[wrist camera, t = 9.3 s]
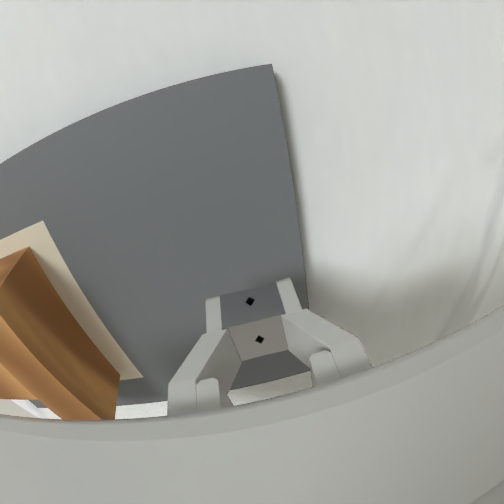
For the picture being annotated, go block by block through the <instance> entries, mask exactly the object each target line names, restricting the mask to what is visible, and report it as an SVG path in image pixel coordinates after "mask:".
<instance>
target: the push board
mask: <svg viewBox="0 0 504 504" xmlns="http://www.w3.org/2000/svg"><path fill="white" fill-rule="evenodd" d="M26 247H30V249H31V251H32V252H33V254H34V256H35V258H36V259H37V261H38V263H39V265H40V266H41V268H42V270H43V271H44V273H45V274H46V276H47V278H48V279H49V281H50V282H51V284H52V286H53V287H54V289H55V290H56V292H57V293H58V295H59V296H60V298H61V299H62V301H63V302H64V304H65V305H66V307H67V308H68V309H69V311H70V312H71V314H72V315H73V316H74V318H75V319H76V321H77V322H78V323H79V325H80V326H81V327H82V329H83V330H84V331H85V333H86V334H87V335H88V336H89V338H90V339H91V340H92V342H93V343H94V344H95V345H96V347H97V348H98V349H99V350H100V352H101V353H102V354H103V355H104V356H105V358H106V359H107V360H108V361H109V362H110V363H111V365H112V366H113V367H114V368H115V369H116V370H117V372H118V373H119V374H120V381H119V388H118V395H117V403H116V406H121V405H133V404H143V403H152V402H161V401H168V384H169V382H170V381H171V379H172V378H173V377H174V375H175V374H176V372H177V371H178V369H179V368H180V366H181V365H182V363H183V362H184V361H185V359H186V358H187V356H188V355H189V353H190V352H191V350H192V349H193V347H194V346H195V345H196V343H197V342H198V340H199V339H200V337H201V336H202V334H206V333H207V332H206V303H205V302H206V299H208V298H212V297H217V296H220V295H224V294H229V293H233V292H238V291H242V290H247V289H251V288H254V287H258V286H262V285H266V284H269V283H273V282H276V281H279V280H283V279H286V278H290V279H291V281H292V284H293V286H294V289H295V291H296V294H297V297H298V299H299V302H300V305H301V307H302V310H303V309H306V308H307V309H308V310H309V306H308V297H307V287H306V278H305V269H304V261H303V252H302V244H301V236H300V229H299V221H298V214H297V207H296V200H295V193H294V186H293V179H292V173H291V166H290V160H289V154H288V148H287V142H286V136H285V130H284V125H283V119H282V114H281V108H280V103H279V97H278V92H277V87H276V82H275V77H274V72H273V67H272V64H267V65H261V66H255V67H249V68H244V69H239V70H234V71H229V72H224V73H220V74H215V75H211V76H207V77H203V78H199V79H195V80H191V81H187V82H184V83H180V84H177V85H173V86H170V87H167V88H163V89H160V90H157V91H154V92H151V93H148V94H145V95H142V96H139V97H136V98H134V99H131V100H128V101H125V102H123V103H120V104H118V105H115V106H112V107H110V108H108V109H105V110H103V111H100V112H98V113H96V114H93V115H91V116H89V117H86V118H84V119H82V120H80V121H78V122H75V123H73V124H71V125H69V126H67V127H65V128H63V129H61V130H59V131H57V132H55V133H53V134H51V135H49V136H47V137H45V138H44V139H42V140H40V141H38V142H36V143H34V144H33V145H31V146H29V147H27V148H26V149H24V150H22V151H21V152H19V153H17V154H16V155H14V156H12V157H11V158H9V159H7V160H6V161H4V162H3V163H1V164H0V259H1V258H3V257H6V256H8V255H10V254H12V253H15V252H17V251H19V250H22V249H24V248H26ZM241 362H242V363H241V365H240V368H239V370H238V372H237V374H236V377H235V379H234V381H233V383H232V385H231V388H230V390H234V389H238V388H243V387H248V386H252V385H256V384H261V383H265V382H269V381H273V380H277V379H281V378H285V377H289V376H292V375H296V374H300V373H303V372H307V371H310V370H311V369H310V368H309V367H308V366H307V365H305V364H304V363H303V362H302V361H301V360H299V359H298V358H297V357H296V356H295V355H293V354H292V353H291V352H290V351H289V350H285V351H281V352H276V353H272V354H267V355H263V356H259V357H256V358H252V359H248V360H244V361H241ZM29 401H30V402H32V403H33V404H34V405H35V406H36V407H37V408H48V407H46V406H45V405H44V404H43V403H42V402H41V401H39V400H29Z"/></svg>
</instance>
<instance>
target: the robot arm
mask: <svg viewBox="0 0 504 504" xmlns="http://www.w3.org/2000/svg"><path fill="white" fill-rule="evenodd" d="M205 303H206V332H207V333H206V334H202V336H201V337H200V339H199V340H198V342H197V343H196V345H195V346H194V347H193V349H192V350H191V352H190V353H189V355H188V356H187V358H186V359H185V361H184V362H183V363H182V365H181V366H180V368H179V369H178V371H177V372H176V374H175V375H174V377H173V378H172V379H171V381H170V382H169V384H168V410H167V416H160V417H149V418H136V419H116V420H60V419H41V418H28V417H19V416H10V415H3V414H0V504H504V306H502V307H500V308H499V309H497V310H495V311H493V312H492V313H490V314H488V315H486V316H485V317H483V318H481V319H479V320H477V321H476V322H474V323H472V324H470V325H468V326H466V327H464V328H462V329H460V330H458V331H456V332H454V333H452V334H450V335H448V336H446V337H444V338H442V339H440V340H438V341H436V342H434V343H432V344H429V345H427V346H425V347H423V348H420V349H418V350H416V351H414V352H411V353H409V354H406V355H404V356H402V357H399V358H397V359H394V360H392V361H389V362H387V363H384V364H381V365H379V366H376V367H372V365H371V363H370V361H369V359H368V357H367V354H366V352H365V350H364V348H363V346H362V344H361V342H360V340H359V338H357V337H355V336H353V335H352V334H350V333H348V332H346V331H345V330H343V329H341V328H339V327H338V326H336V325H334V324H332V323H331V322H329V321H327V320H325V319H324V318H322V317H320V316H319V315H317V314H315V313H313V312H312V311H310V310H308V309H307V308H306V309H303V310H302V307H301V305H300V302H299V299H298V297H297V294H296V291H295V289H294V286H293V284H292V281H291V279H290V278H286V279H283V280H279V281H276V282H273V283H269V284H266V285H262V286H258V287H254V288H251V289H247V290H242V291H238V292H233V293H229V294H224V295H220V296H217V297H212V298H208V299H206V302H205ZM285 350H289V351H290V352H291V353H292V354H293V355H295V356H296V357H297V358H298V359H299V360H301V361H302V362H303V363H304V364H305V365H307V366H308V367H309V368H310V369H311V378H312V388H309V389H305V390H302V391H298V392H294V393H290V394H286V395H283V396H278V397H274V398H270V399H266V400H261V401H256V402H252V403H247V404H242V405H237V406H234V405H233V404H232V402H231V400H230V399H229V397H228V396H227V394H228V392H229V390H230V388H231V385H232V383H233V381H234V379H235V377H236V374H237V372H238V370H239V368H240V365H241V363H242V362H241V361H244V360H248V359H252V358H256V357H259V356H263V355H267V354H272V353H276V352H281V351H285Z"/></svg>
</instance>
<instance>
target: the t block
mask: <svg viewBox="0 0 504 504" xmlns="http://www.w3.org/2000/svg"><path fill="white" fill-rule="evenodd" d="M119 381H120V374H119V373H118V372H117V370H116V369H115V368H114V367H113V366H112V365H111V363H110V362H109V361H108V360H107V359H106V358H105V356H104V355H103V354H102V353H101V352H100V350H99V349H98V348H97V347H96V345H95V344H94V343H93V342H92V340H91V339H90V338H89V336H88V335H87V334H86V333H85V331H84V330H83V329H82V327H81V326H80V325H79V323H78V322H77V321H76V319H75V318H74V316H73V315H72V314H71V312H70V311H69V309H68V308H67V307H66V305H65V304H64V302H63V301H62V299H61V298H60V296H59V295H58V293H57V292H56V290H55V289H54V287H53V286H52V284H51V282H50V281H49V279H48V278H47V276H46V274H45V273H44V271H43V270H42V268H41V266H40V265H39V263H38V261H37V259H36V258H35V256H34V254H33V252H32V251H31V249H30V247H26V248H24V249H22V250H19V251H17V252H15V253H12V254H10V255H8V256H6V257H3V258H1V259H0V399H21V400H39V401H41V402H42V403H43V404H44V405H45V406H46V407H48V408H49V409H50V410H51V411H53V412H54V413H55V414H56V415H58V416H59V417H60V418H61V419H63V420H115V412H116V403H117V395H118V388H119Z"/></svg>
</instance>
